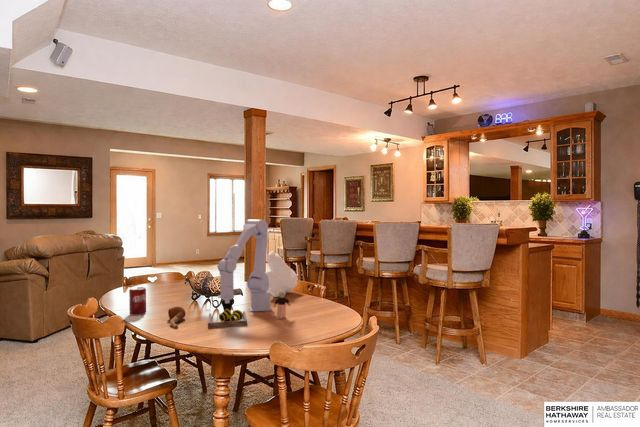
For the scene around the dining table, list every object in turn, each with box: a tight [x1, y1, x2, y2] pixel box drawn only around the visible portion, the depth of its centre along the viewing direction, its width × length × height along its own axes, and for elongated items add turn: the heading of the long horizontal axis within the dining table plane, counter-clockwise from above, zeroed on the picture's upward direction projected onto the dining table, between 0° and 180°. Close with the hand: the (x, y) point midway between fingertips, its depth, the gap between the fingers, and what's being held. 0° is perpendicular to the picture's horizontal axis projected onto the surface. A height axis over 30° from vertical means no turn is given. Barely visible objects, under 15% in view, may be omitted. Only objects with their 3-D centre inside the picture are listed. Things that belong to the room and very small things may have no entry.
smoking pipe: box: [167, 306, 186, 330], centre depth 183 cm, size 7×18×6 cm, turn 23°
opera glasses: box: [218, 309, 243, 322], centre depth 184 cm, size 10×5×5 cm, turn 66°
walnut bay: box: [207, 311, 248, 329], centre depth 184 cm, size 16×16×2 cm
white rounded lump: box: [265, 250, 298, 298], centre depth 241 cm, size 25×16×25 cm
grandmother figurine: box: [272, 290, 291, 320], centre depth 189 cm, size 8×4×13 cm, turn 118°
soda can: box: [128, 286, 147, 316], centre depth 199 cm, size 7×7×12 cm
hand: (227, 315), depth 190 cm, fingers closed
